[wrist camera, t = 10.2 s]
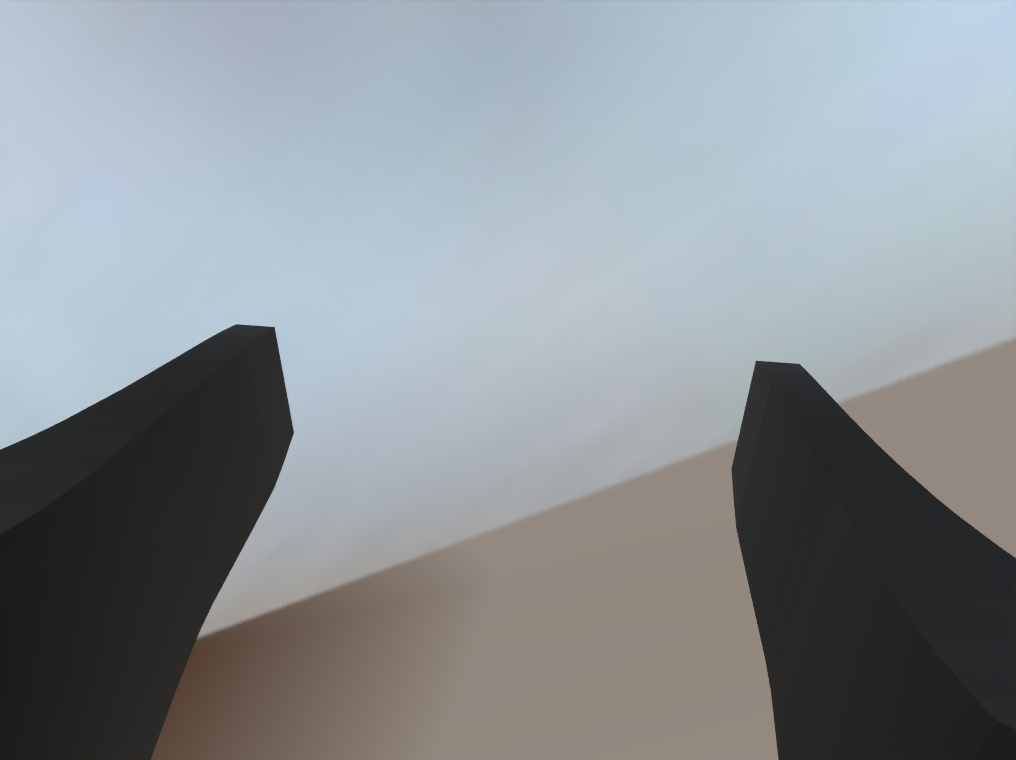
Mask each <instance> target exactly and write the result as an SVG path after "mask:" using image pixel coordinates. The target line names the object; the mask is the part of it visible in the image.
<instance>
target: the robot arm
mask: <svg viewBox="0 0 1016 760" xmlns="http://www.w3.org/2000/svg"><path fill="white" fill-rule="evenodd" d="M293 433H294V431H293V426H292V420H291V415H290V409H289V404H288V398H287V393H286V387H285V382H284V376H283V371H282V366H281V360H280V355H279V349H278V344H277V338H276V333H275V327H265V326H251V325H237V324H236V325H234V326H232V327H230V328H228V329H226V330H224V331H222V332H220V333H218V334H216V335H214V336H212V337H211V338H209V339H207V340H205V341H204V342H202V343H200V344H198V345H197V346H195V347H193V348H192V349H190V350H188V351H187V352H185V353H183V354H181V355H180V356H178V357H176V358H175V359H173V360H171V361H170V362H168V363H166V364H165V365H163V366H161V367H159V368H158V369H156V370H154V371H153V372H151V373H149V374H148V375H146V376H144V377H142V378H141V379H139V380H137V381H136V382H134V383H132V384H131V385H129V386H127V387H125V388H123V389H122V390H120V391H118V392H116V393H114V394H112V395H110V396H109V397H107V398H105V399H103V400H101V401H99V402H97V403H96V404H94V405H92V406H90V407H88V408H86V409H84V410H83V411H81V412H79V413H77V414H75V415H73V416H71V417H69V418H68V419H66V420H64V421H62V422H60V423H58V424H56V425H54V426H52V427H50V428H48V429H45V430H43V431H41V432H39V433H37V434H35V435H33V436H31V437H28V438H26V439H24V440H22V441H19V442H17V443H15V444H12V445H10V446H8V447H6V448H3V449H1V450H0V760H151V757H152V754H153V751H154V748H155V746H156V743H157V740H158V737H159V735H160V732H161V729H162V727H163V724H164V721H165V719H166V716H167V713H168V710H169V707H170V705H171V702H172V699H173V697H174V694H175V692H176V689H177V686H178V684H179V681H180V679H181V676H182V674H183V671H184V669H185V666H186V664H187V661H188V659H189V656H190V654H191V651H192V649H193V646H194V644H195V641H196V639H197V636H198V634H199V632H200V629H201V627H202V625H203V623H204V621H205V619H206V617H207V615H208V613H209V610H210V608H211V606H212V604H213V602H214V600H215V599H216V597H217V595H218V593H219V591H220V589H221V587H222V585H223V584H224V582H225V580H226V578H227V576H228V574H229V572H230V571H231V569H232V567H233V565H234V563H235V561H236V559H237V557H238V556H239V554H240V552H241V550H242V548H243V546H244V544H245V543H246V541H247V539H248V537H249V535H250V533H251V531H252V530H253V528H254V526H255V524H256V522H257V520H258V518H259V516H260V514H261V512H262V510H263V509H264V507H265V505H266V503H267V501H268V499H269V497H270V495H271V493H272V491H273V489H274V487H275V485H276V482H277V479H278V477H279V474H280V471H281V469H282V466H283V463H284V460H285V457H286V454H287V451H288V448H289V445H290V442H291V439H292V436H293ZM732 481H733V495H734V507H735V518H736V528H737V533H738V538H739V542H740V547H741V552H742V556H743V561H744V566H745V570H746V575H747V579H748V584H749V588H750V593H751V597H752V601H753V606H754V610H755V615H756V619H757V624H758V628H759V633H760V637H761V642H762V646H763V651H764V655H765V660H766V665H767V671H768V677H769V683H770V688H771V695H772V705H773V713H774V722H775V731H776V739H777V749H778V758H779V760H1016V558H1015V557H1013V556H1012V555H1010V554H1009V553H1007V552H1006V551H1005V550H1003V549H1002V548H1000V547H999V546H998V545H996V544H995V543H993V542H992V541H991V540H990V539H988V538H987V537H986V536H984V535H983V534H982V533H980V532H979V531H978V530H976V529H975V528H974V527H972V526H971V525H970V524H968V523H967V522H965V521H964V520H963V519H962V518H960V517H959V516H958V515H957V514H955V513H954V512H953V511H952V510H950V509H949V508H948V507H947V506H945V505H944V504H943V503H942V502H940V501H939V500H938V499H937V498H936V497H934V496H933V495H932V494H931V493H930V492H929V491H928V490H927V489H925V488H924V487H923V486H922V485H921V484H920V483H919V482H917V481H916V480H915V479H914V478H913V477H912V476H911V475H909V474H908V473H907V472H906V471H905V470H904V469H903V468H902V467H901V466H900V465H898V464H897V463H896V462H895V461H894V460H893V459H892V458H891V457H890V456H889V455H888V454H887V453H886V452H885V451H883V449H882V448H881V447H879V446H878V445H877V444H876V443H875V442H874V441H873V440H872V439H871V438H870V437H869V436H868V435H867V434H866V433H865V432H864V431H863V430H862V429H861V428H860V427H859V426H858V425H857V424H856V422H854V420H852V418H851V417H850V416H849V415H848V414H847V413H846V412H845V411H844V410H843V409H842V408H841V407H840V406H839V405H838V404H837V403H836V402H835V401H834V399H833V398H832V397H831V396H830V395H829V394H828V393H827V392H826V391H825V390H824V389H823V388H822V387H821V386H820V385H819V384H818V382H817V381H816V380H815V379H814V378H813V377H812V376H811V375H810V374H809V373H808V372H807V371H806V370H805V369H804V368H803V367H802V366H801V365H800V364H793V363H778V362H764V361H756V363H755V368H754V372H753V376H752V381H751V385H750V390H749V394H748V398H747V403H746V407H745V412H744V416H743V421H742V425H741V429H740V434H739V438H738V443H737V447H736V451H735V456H734V460H733V465H732Z"/></svg>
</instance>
